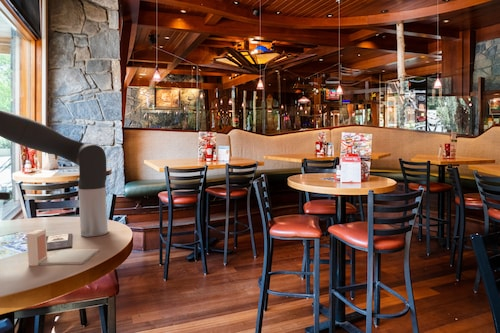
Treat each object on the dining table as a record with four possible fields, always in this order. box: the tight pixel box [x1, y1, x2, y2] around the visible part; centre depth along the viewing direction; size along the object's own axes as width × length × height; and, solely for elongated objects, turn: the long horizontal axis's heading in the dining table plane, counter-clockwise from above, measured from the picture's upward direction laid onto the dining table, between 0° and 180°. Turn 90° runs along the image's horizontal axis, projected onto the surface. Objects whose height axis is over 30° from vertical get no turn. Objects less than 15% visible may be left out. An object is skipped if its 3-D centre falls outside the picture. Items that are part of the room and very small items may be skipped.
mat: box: [39, 248, 100, 266], centre depth 109 cm, size 12×12×1 cm
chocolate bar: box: [46, 233, 73, 252], centre depth 125 cm, size 9×1×18 cm
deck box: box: [26, 229, 48, 267], centre depth 105 cm, size 5×3×9 cm, turn 0°
